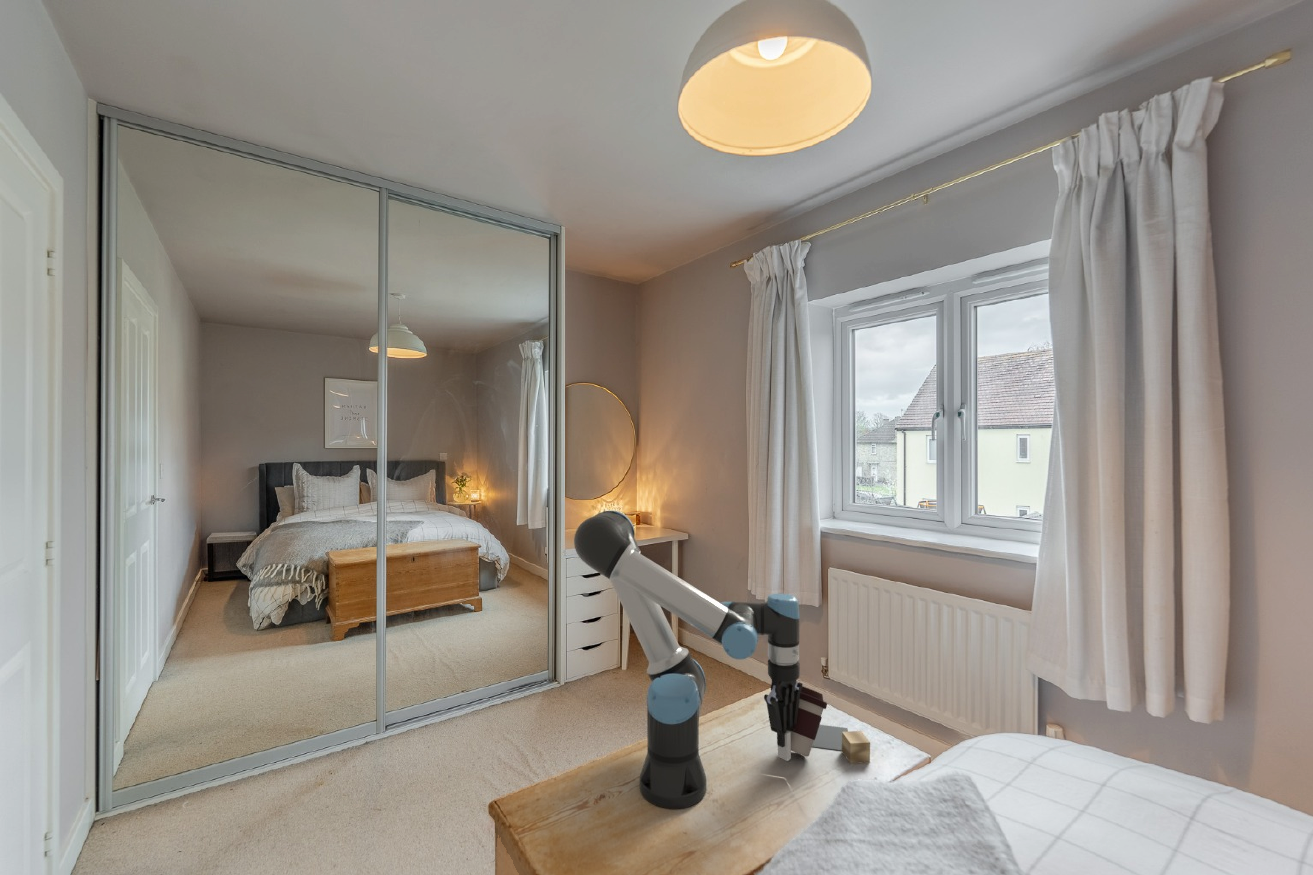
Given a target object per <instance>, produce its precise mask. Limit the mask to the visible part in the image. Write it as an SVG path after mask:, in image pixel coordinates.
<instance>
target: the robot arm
mask: <svg viewBox="0 0 1313 875" xmlns="http://www.w3.org/2000/svg"><path fill="white" fill-rule="evenodd" d="M573 545H574V549H575V552H576V554H577V555H578V557H579V559H580V560H581V561H582V562H584V563H585V564H586V565H587V566H588V567H590V568H591V569H593V571H596V572H597V573H599V574H600V575H602V576H604V577H605V578H606V579H609V581H610V583H611V584H612V586H613V589H614V591H615V594H616V595H617V597H618V600H619V602H620V603H621V606H622V608H623V610H624V612H625V615H626V616H627V618H628V621H629V623H630V624H631V627H632V629H633V631H634V634H635V635H636V637H637V640H638V642H639V643H640V645H641V648H642V650H643V653H644V655H645V656H646V658H647V661H648V667H647V669H646V673H647V675H648V677H649V679H650V681H651V682H650V684H649V686H648V689H647V695H646V707H647V708H646V710H647V711H646V714H647V716H646V717H647V721H646V723H647V733H646V736H647V741H646V743H647V747H646V748H647V751H646V756H645V760H644V762H643V766H642V769H641V771H640V775H639V792H640V794H641V796H642V797H643V798H644V800H646V801H647V802H649V803H651V804H653V805H655V806H657V807H660V808H665V809H682V808H683V809H684V808H688V807H691V806H693V805H695V804H697V803H699V802H701V800H702V799H703V798H704V797H705V796H706V793H707V776H706V772H705V768H704V767H703V763H702V760H701V756H700V753H699V744H700V743H699V740H700V739H699V736H700V735H699V731H700V730H699V726H700V725H699V724H700V723H699V722H700V715H701V711H702V707H703V706H702V705H703V701H704V697H705V694H706V691H707V689H706V686H707V682H706V676H705V672H704V670H703V668H702V666H701V665H700V664H699V663H698V661H697V660H695V658H693V657H692V656H691V653H690V651H689V649H688V648H687V647H682V646H680V644H679V643H678V640H677V638H676V635H675V634H674V631H673V630H672V628H671V625H670V623H669V621H668V619H667V617H666V615H665V613H664V610H663V608H664V609H665V610H666V611H668V612H670V613H672V614H673V615H674V616H676V617H677V618H679V619H681V620H682V621H684V622H686V624H689V625H691V627H694V628H696V629H697V630H698V631H700V632H702V633H704V634H705V635H706V636H708V637H709V638H712V639H713V641H716V642H717V643H719V644H720V645H722V648H723V651H724V652H725V653H726V655H728V656H729V657H730V658H732V659H735V660H740V661H741V660H746V659H748V658H750V657H751V656H752V655H753V654H754V653H755V652H756V649H757V645H758V642H759V640H758V639H759V636H767V658H768V660H767V675H768V676H769V678H770V680H771V683H770V692H769V694H764V696H763V699H764V701H765V703H766V707H767V713H768V719H769V720H768V721H769V726H770V730H771V731H772V732H773V733H776V745H777V758H780V759H782V760H784V761H786V762H788V761H789V760H791V759H792V758H791V757H792V755H791V754H792V753H791V731H793V732H794V731H795V728H794V727H793V725H796V724H797V716H798V708H799V700H800V693H801V689H802V686H803V683H802V682H800V681H797V680H798V679H800V674H801V673H800V668H801V667H800V661H799V660H800V607H799V606H800V605H799V600H798V599H797V597H795V596H794V595H792V594H789V593H772V594H769V595H768V596H767V600H766V602H744V601H735V600H732V601H722V602H720V601H718V600H716V599H714V598H713V597H711V596H710V595H708V594H706V593H705V592H703V591H701V590H700V589H698V588H696V587H695V586H693V585H692V584H690V583H688V582H687V581H685V580H684V579H682V578H680V577H678V576H677V575H676V574H674V573H672V572H670V571H669V570H667V569H665V568H664V567H663V566H661V565H659V564H658V563H656V562H654V561H653V560H651V559H650V558H648V557H646V556H644V555H643V554H642V553H641V552H642V551H641V549H640V547H639V544H638V543H637V541H636V539H635V528H634V524H633V522H632V521H631V519H630V518H629V517H628V516H627V515H625V514H624V513H623V512H620V511H617V510H603V511H602V512H598V513H597V514H595V515H594V516H590V517H588V518H586V519H585V520H583V521H582V522H581V523H580V524H579V525H578V527H577V529H576V530H575V533H574V538H573ZM803 687H804V686H803Z"/></svg>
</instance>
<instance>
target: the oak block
mask: <svg viewBox="0 0 1313 875" xmlns="http://www.w3.org/2000/svg"><path fill="white" fill-rule="evenodd" d="M841 753H842V754H843V755H844V757H845V759H847V761H848V762H849V764H862V763H865V764H866V763H871V741H870V740H869V739H868V738H867V737H866V735H865V734H864V732H863V731H862V730H855V731H853V730H852V731H850V730H849V731H848V732H842V751H841Z"/></svg>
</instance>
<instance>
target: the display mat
mask: <svg viewBox="0 0 1313 875" xmlns="http://www.w3.org/2000/svg"><path fill="white" fill-rule="evenodd" d="M842 732H849V730H848V727H840V726H832V725H828V724H827V725H825V724H820V725H819V728H818V732H817V735H816V738H815V740H814V741H813V745H812V748H819V749H824V750H831V751H832V750H833V751H838V752H842Z"/></svg>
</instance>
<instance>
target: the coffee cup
mask: <svg viewBox="0 0 1313 875" xmlns="http://www.w3.org/2000/svg"><path fill="white" fill-rule="evenodd" d="M827 706H828V703H827V702H826V701H824V697H823V694H822V693H820V692H819V691H816V690H814V689H812V688H808V687H806V686H802V689H801V693H800V700H799V708H798V716H797V724H796V725H793V727H794V728H795V731H794V732H793V731H791V751H792V752H793V753H796V754H798V755H800V756H804V757H807V758H808V757H810V754H811V751H812V748H813V747H812V745H813V741H814V740H815V738H816V735H817V732H818V728H819V725H821V721H822V718H823V716H822V715H823V713H824V712H823V711H824V710H826V709H827Z"/></svg>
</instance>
